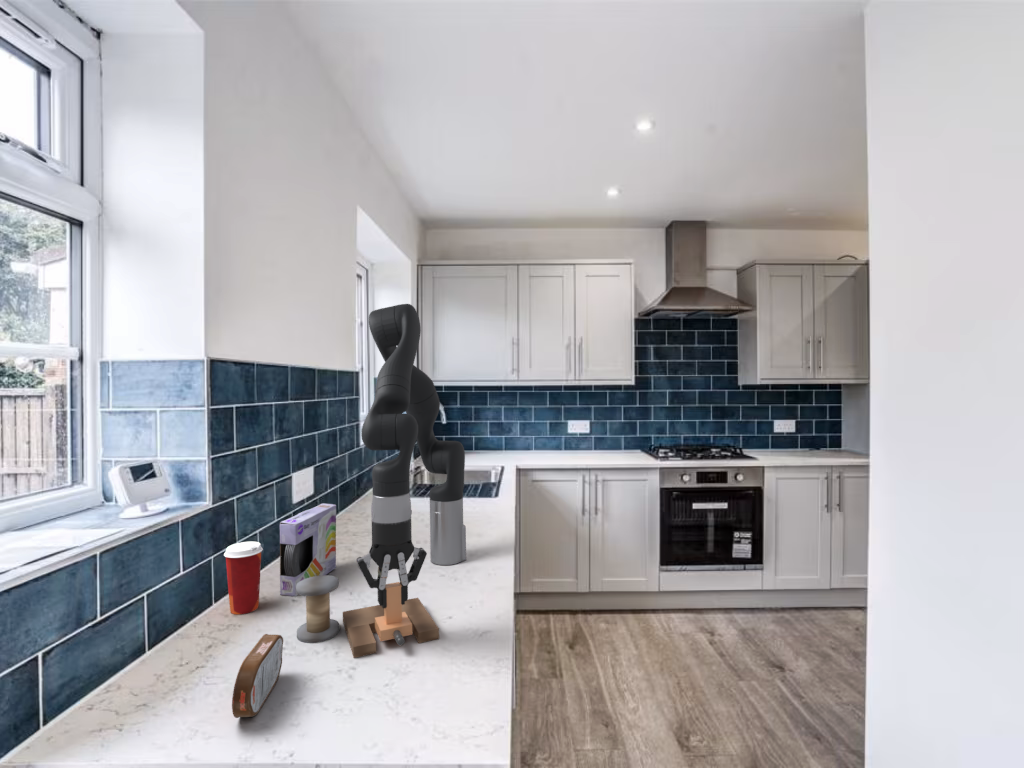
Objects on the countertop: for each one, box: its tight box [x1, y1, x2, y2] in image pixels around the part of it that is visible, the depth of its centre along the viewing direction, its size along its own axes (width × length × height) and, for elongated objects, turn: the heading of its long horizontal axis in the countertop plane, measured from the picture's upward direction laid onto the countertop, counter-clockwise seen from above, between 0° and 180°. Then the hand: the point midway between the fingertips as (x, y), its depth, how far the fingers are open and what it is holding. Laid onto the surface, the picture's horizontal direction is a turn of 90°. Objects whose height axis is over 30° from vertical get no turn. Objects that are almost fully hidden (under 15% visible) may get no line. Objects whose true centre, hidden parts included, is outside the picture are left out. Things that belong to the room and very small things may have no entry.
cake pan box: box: [279, 503, 337, 597], centre depth 130 cm, size 19×5×18 cm, turn 168°
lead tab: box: [375, 581, 413, 646], centre depth 99 cm, size 6×10×9 cm, turn 25°
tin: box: [231, 633, 284, 719], centre depth 82 cm, size 15×3×8 cm, turn 6°
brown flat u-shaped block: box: [342, 597, 440, 659], centre depth 105 cm, size 16×16×2 cm
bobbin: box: [296, 574, 341, 644], centre depth 104 cm, size 8×8×10 cm
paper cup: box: [223, 541, 264, 616], centre depth 115 cm, size 8×8×14 cm
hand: (392, 604), depth 101 cm, fingers closed on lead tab, 3 cm apart
